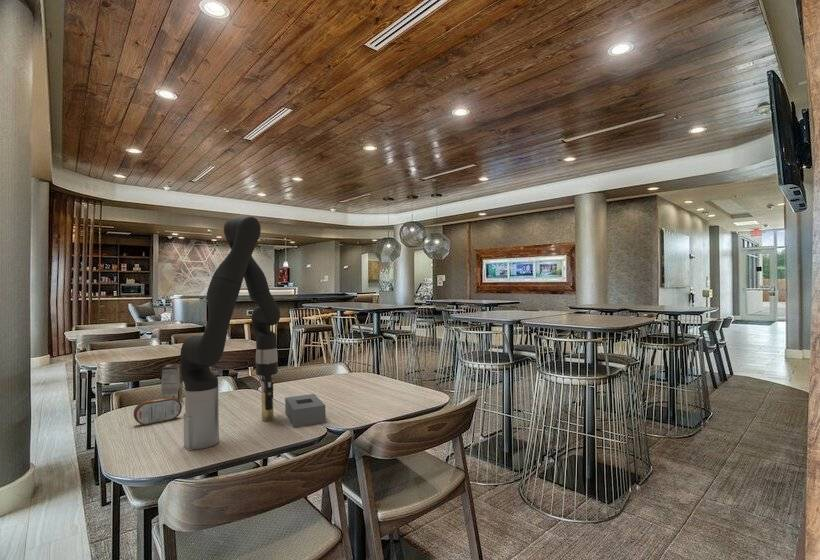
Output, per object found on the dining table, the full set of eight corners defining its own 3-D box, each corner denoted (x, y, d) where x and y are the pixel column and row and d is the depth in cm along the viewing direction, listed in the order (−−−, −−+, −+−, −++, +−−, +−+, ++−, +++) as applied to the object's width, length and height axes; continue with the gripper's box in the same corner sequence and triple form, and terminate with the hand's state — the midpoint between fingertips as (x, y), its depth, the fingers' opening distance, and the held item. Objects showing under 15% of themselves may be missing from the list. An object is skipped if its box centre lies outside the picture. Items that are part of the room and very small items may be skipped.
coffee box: (166, 401, 180) (166, 364, 180) (183, 400, 181) (182, 362, 182) (160, 407, 171) (160, 367, 171) (178, 405, 173) (178, 366, 173)
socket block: (325, 422, 148) (325, 405, 148) (293, 427, 143) (293, 409, 143) (314, 409, 164) (314, 393, 164) (285, 413, 159) (285, 397, 159)
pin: (264, 422, 149) (263, 388, 149) (260, 420, 152) (259, 386, 152) (275, 420, 151) (274, 386, 152) (271, 417, 154) (270, 384, 155)
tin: (181, 416, 158) (180, 394, 158) (182, 418, 156) (182, 396, 156) (133, 425, 149) (133, 402, 149) (134, 428, 146) (134, 403, 146)
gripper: (254, 358, 157) (254, 403, 157) (257, 365, 144) (258, 414, 144) (274, 357, 160) (275, 401, 160) (280, 363, 147) (281, 410, 147)
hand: (267, 407), depth 152 cm, fingers open, 6 cm apart
